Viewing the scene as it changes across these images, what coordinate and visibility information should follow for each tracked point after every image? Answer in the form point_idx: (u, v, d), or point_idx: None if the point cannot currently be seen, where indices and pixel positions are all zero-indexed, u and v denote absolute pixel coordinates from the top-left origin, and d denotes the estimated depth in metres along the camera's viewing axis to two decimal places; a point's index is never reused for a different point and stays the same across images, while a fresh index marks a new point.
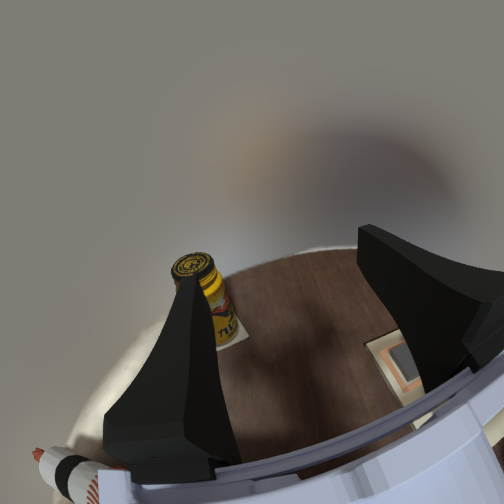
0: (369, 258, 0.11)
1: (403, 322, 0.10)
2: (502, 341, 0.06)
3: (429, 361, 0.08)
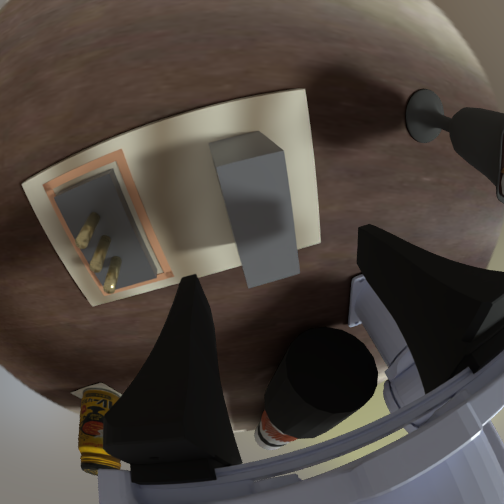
0: (369, 258, 0.11)
1: (403, 322, 0.10)
2: (502, 341, 0.06)
3: (429, 361, 0.08)
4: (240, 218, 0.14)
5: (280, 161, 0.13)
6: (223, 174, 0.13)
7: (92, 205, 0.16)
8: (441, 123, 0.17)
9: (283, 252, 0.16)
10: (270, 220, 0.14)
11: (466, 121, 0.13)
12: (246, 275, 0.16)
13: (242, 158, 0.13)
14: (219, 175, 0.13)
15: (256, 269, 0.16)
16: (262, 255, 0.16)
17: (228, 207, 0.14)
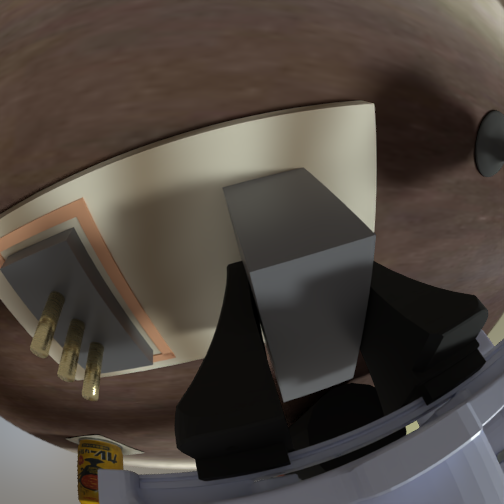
0: None
1: (361, 340, 0.10)
2: (465, 370, 0.06)
3: (385, 384, 0.08)
4: (285, 339, 0.08)
5: (366, 253, 0.07)
6: (263, 283, 0.07)
7: (51, 282, 0.10)
8: None
9: (338, 364, 0.10)
10: (331, 334, 0.09)
11: None
12: (283, 392, 0.10)
13: (300, 251, 0.07)
14: (255, 285, 0.07)
15: (298, 385, 0.10)
16: (309, 372, 0.10)
17: (267, 329, 0.08)
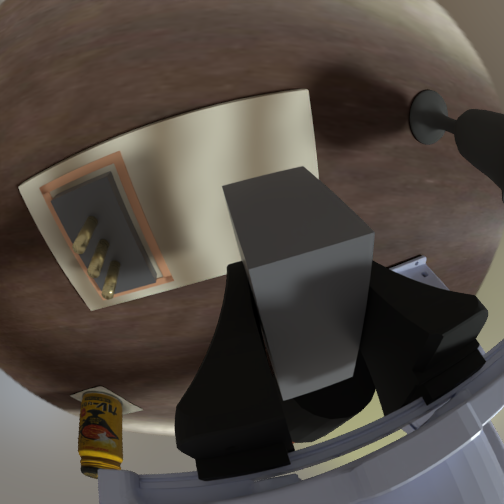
0: None
1: (361, 340, 0.10)
2: (465, 370, 0.06)
3: (385, 384, 0.08)
4: (284, 337, 0.08)
5: (365, 250, 0.07)
6: (262, 280, 0.07)
7: (90, 209, 0.15)
8: (445, 125, 0.16)
9: (338, 362, 0.10)
10: (330, 332, 0.09)
11: (472, 123, 0.12)
12: (282, 391, 0.10)
13: (298, 248, 0.07)
14: (254, 282, 0.07)
15: (297, 384, 0.10)
16: (308, 370, 0.10)
17: (266, 326, 0.08)
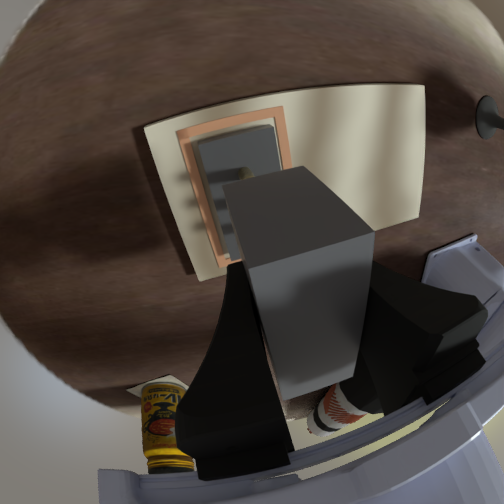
0: None
1: (361, 340, 0.10)
2: (465, 370, 0.06)
3: (385, 384, 0.08)
4: (284, 337, 0.08)
5: (365, 250, 0.07)
6: (262, 280, 0.07)
7: (246, 159, 0.16)
8: (502, 124, 0.17)
9: (338, 362, 0.10)
10: (330, 332, 0.08)
11: None
12: (282, 391, 0.10)
13: (298, 248, 0.07)
14: (254, 282, 0.07)
15: (297, 384, 0.10)
16: (308, 370, 0.10)
17: (266, 326, 0.08)
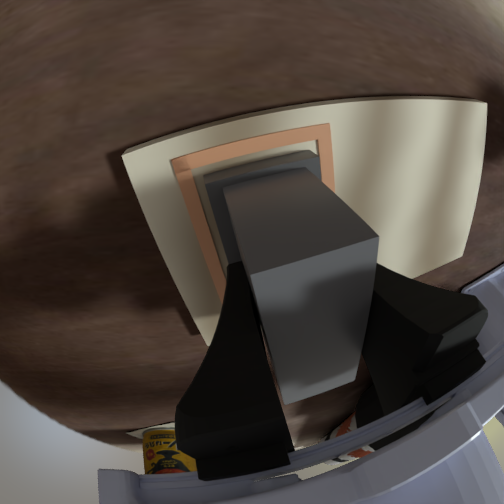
0: None
1: None
2: (465, 370, 0.06)
3: (385, 384, 0.08)
4: (286, 343, 0.08)
5: (369, 255, 0.07)
6: (264, 286, 0.06)
7: None
8: None
9: (340, 367, 0.10)
10: (333, 337, 0.08)
11: None
12: (284, 395, 0.10)
13: (302, 253, 0.06)
14: (256, 288, 0.06)
15: (299, 388, 0.10)
16: (310, 375, 0.10)
17: (268, 332, 0.07)
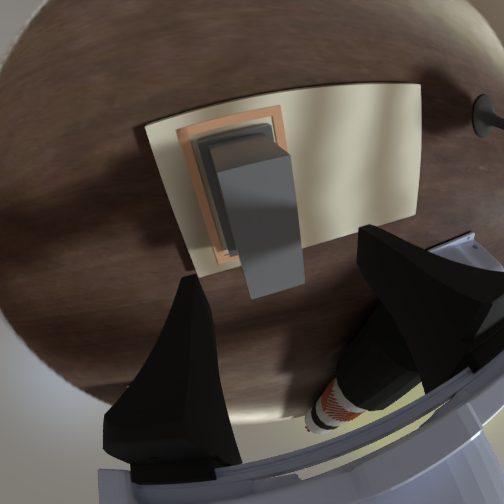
0: (369, 258, 0.11)
1: (403, 322, 0.10)
2: (502, 341, 0.06)
3: (429, 361, 0.08)
4: (243, 227, 0.13)
5: (286, 166, 0.12)
6: (225, 180, 0.12)
7: None
8: (499, 123, 0.17)
9: (288, 262, 0.15)
10: (275, 228, 0.14)
11: None
12: (249, 286, 0.15)
13: (245, 163, 0.12)
14: (220, 181, 0.12)
15: (259, 280, 0.15)
16: (265, 265, 0.15)
17: (230, 215, 0.13)
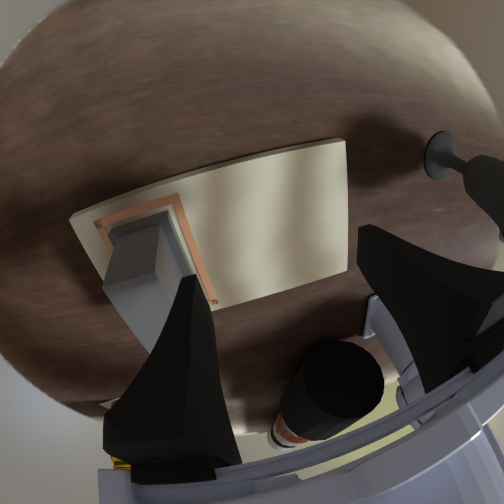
0: (369, 258, 0.11)
1: (403, 322, 0.10)
2: (502, 341, 0.06)
3: (429, 361, 0.08)
4: (133, 321, 0.15)
5: (154, 280, 0.14)
6: (109, 292, 0.14)
7: None
8: (456, 165, 0.19)
9: None
10: (159, 321, 0.16)
11: (479, 171, 0.15)
12: None
13: (122, 279, 0.14)
14: (106, 293, 0.14)
15: None
16: None
17: (121, 314, 0.15)
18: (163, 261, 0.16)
